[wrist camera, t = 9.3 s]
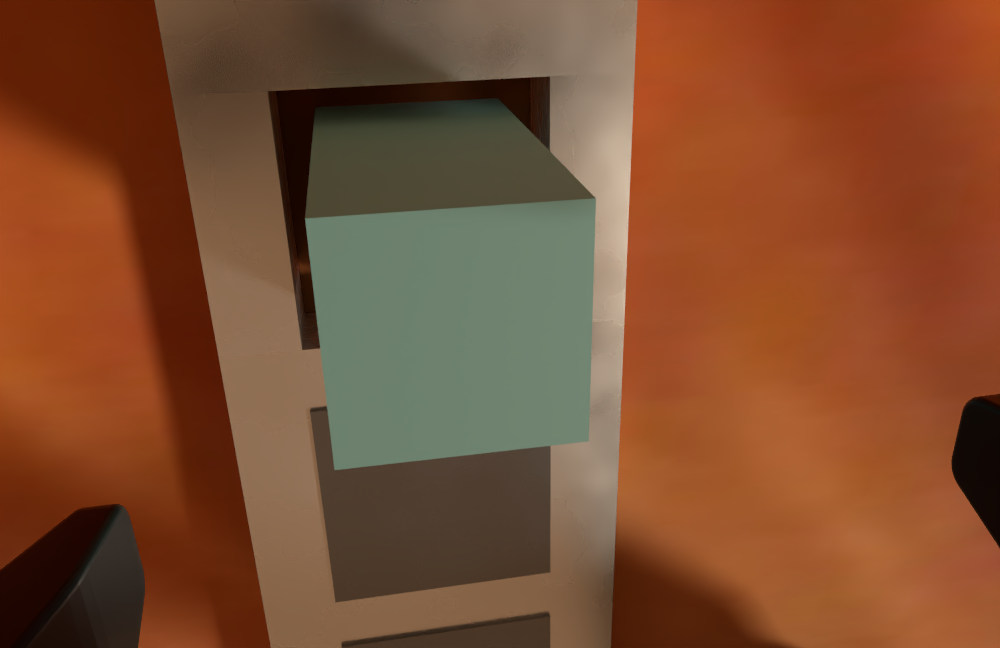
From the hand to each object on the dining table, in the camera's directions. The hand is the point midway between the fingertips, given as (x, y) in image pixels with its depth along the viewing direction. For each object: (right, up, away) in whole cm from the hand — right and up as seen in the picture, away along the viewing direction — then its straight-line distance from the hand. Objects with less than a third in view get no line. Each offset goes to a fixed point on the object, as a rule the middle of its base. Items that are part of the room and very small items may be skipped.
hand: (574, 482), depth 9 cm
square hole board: (-3, 0, +13) cm, 13 cm away
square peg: (-3, +5, +11) cm, 12 cm away
